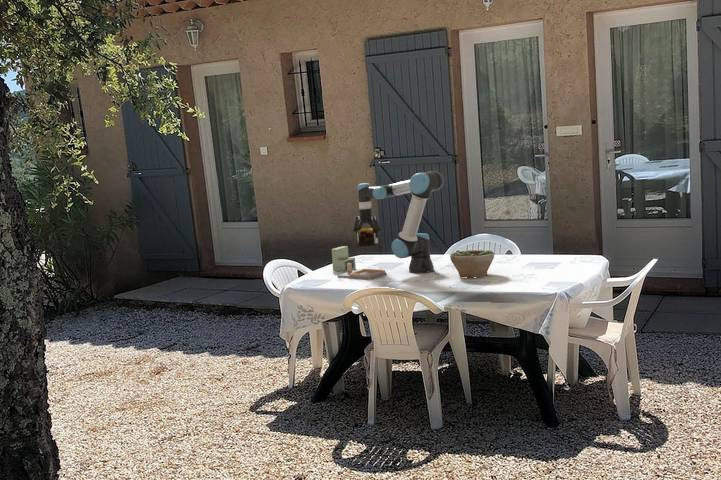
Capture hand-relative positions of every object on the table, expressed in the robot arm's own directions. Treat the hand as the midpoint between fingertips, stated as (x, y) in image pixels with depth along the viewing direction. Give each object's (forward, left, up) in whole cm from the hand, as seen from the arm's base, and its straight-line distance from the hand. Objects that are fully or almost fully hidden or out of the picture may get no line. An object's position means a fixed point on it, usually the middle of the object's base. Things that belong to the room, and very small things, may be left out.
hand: (367, 242), depth 487 cm
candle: (0, 0, -2) cm, 2 cm away
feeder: (+18, +2, -17) cm, 25 cm away
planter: (-70, -3, -18) cm, 73 cm away
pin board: (-5, +16, -17) cm, 24 cm away
